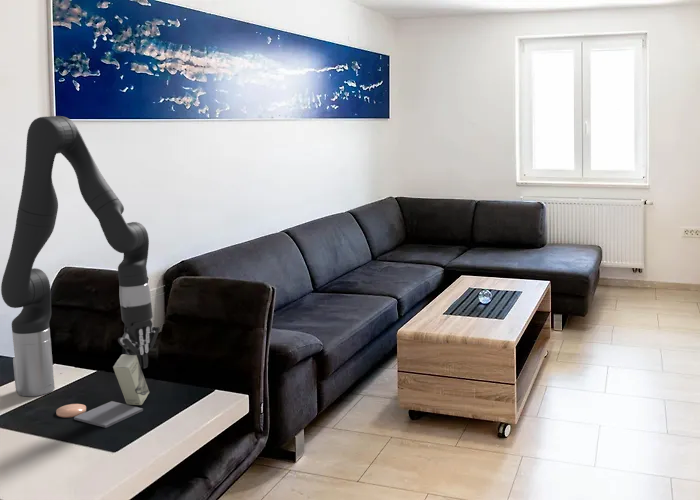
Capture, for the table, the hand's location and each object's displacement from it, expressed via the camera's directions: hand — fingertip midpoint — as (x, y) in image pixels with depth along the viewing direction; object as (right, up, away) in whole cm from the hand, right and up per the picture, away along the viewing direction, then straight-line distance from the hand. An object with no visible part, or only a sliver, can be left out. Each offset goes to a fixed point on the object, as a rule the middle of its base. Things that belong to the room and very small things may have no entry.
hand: (142, 367), depth 191 cm
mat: (-6, -11, -7) cm, 14 cm away
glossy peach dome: (-17, -10, -4) cm, 20 cm away
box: (-2, -8, +2) cm, 9 cm away
